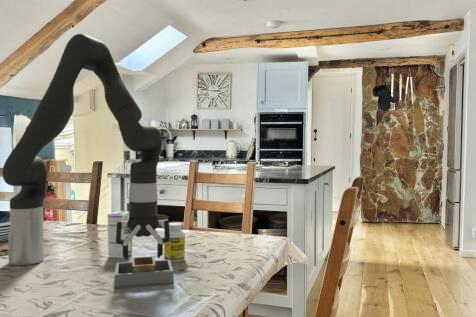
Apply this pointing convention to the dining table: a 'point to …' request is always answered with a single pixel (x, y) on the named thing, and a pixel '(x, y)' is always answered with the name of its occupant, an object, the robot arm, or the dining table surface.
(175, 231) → the pill bottle
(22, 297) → the dining table surface
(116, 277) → the crate big
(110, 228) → the syrup box
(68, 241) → the dining table surface
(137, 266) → the crate small
